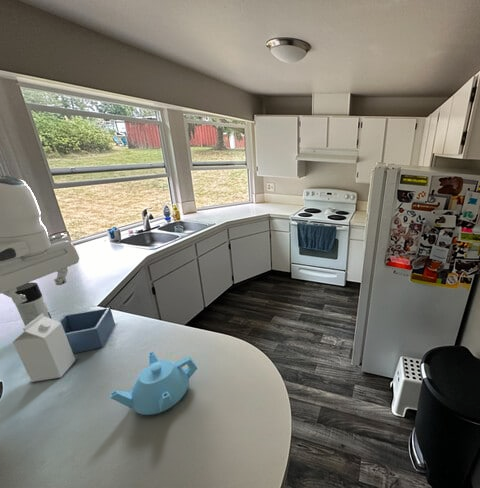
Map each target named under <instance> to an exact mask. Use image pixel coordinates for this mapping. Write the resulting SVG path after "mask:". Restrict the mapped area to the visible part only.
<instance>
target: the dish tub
mask: <svg viewBox="0 0 480 488" xmlns="http://www.w3.org/2000/svg"><path fill="white" fill-rule="evenodd" d="M58 322H60V323H61V324H62V326H63V329H64V331H65V334H66V337H67V339H68V342H69V345H70V347H71V350H72V352H73V354H78V353H82V352H86V351H91V350H96V349H101V348H103V347H104V345H105V344H106V342H107V340H108V338H109V336H110V335H111V333H112V331H113V330H114V328H115V325H116V322H115V319H114V316H113V312H112V309H111V307H105V308H104V307H103V308H99V309H92V310H86V311H80V312H74V313H68V314H63V316H62V317H61V318H60V319H59V320H58Z"/></svg>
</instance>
